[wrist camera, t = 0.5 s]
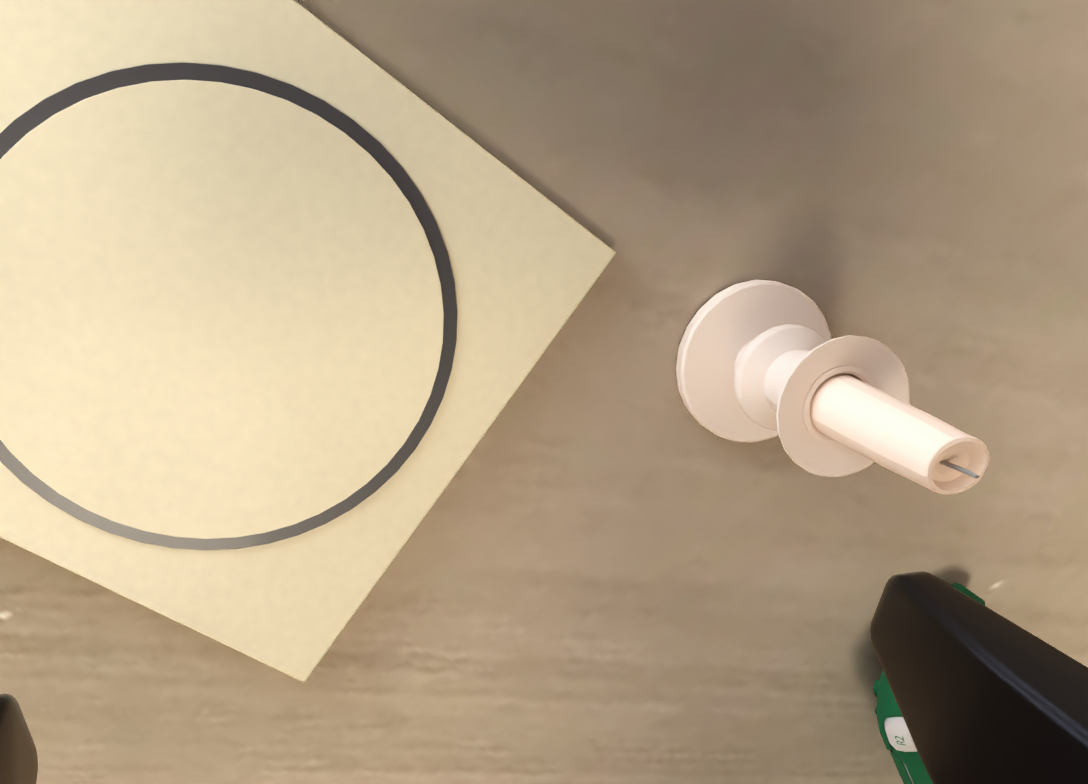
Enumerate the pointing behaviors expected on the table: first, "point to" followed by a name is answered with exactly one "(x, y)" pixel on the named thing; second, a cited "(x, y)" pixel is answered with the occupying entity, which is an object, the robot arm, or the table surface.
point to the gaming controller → (902, 726)
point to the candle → (814, 391)
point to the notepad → (248, 309)
